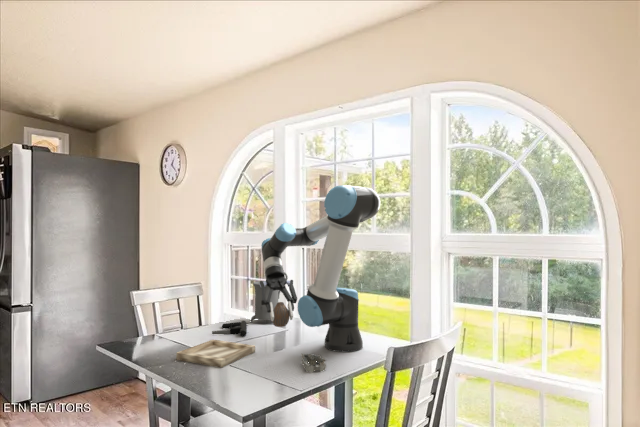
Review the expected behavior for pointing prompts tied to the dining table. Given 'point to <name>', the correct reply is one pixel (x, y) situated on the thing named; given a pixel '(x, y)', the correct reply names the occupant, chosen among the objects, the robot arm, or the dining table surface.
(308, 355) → the egg carton
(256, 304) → the mug
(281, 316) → the vase
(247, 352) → the tray
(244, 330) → the door handle
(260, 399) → the dining table surface
